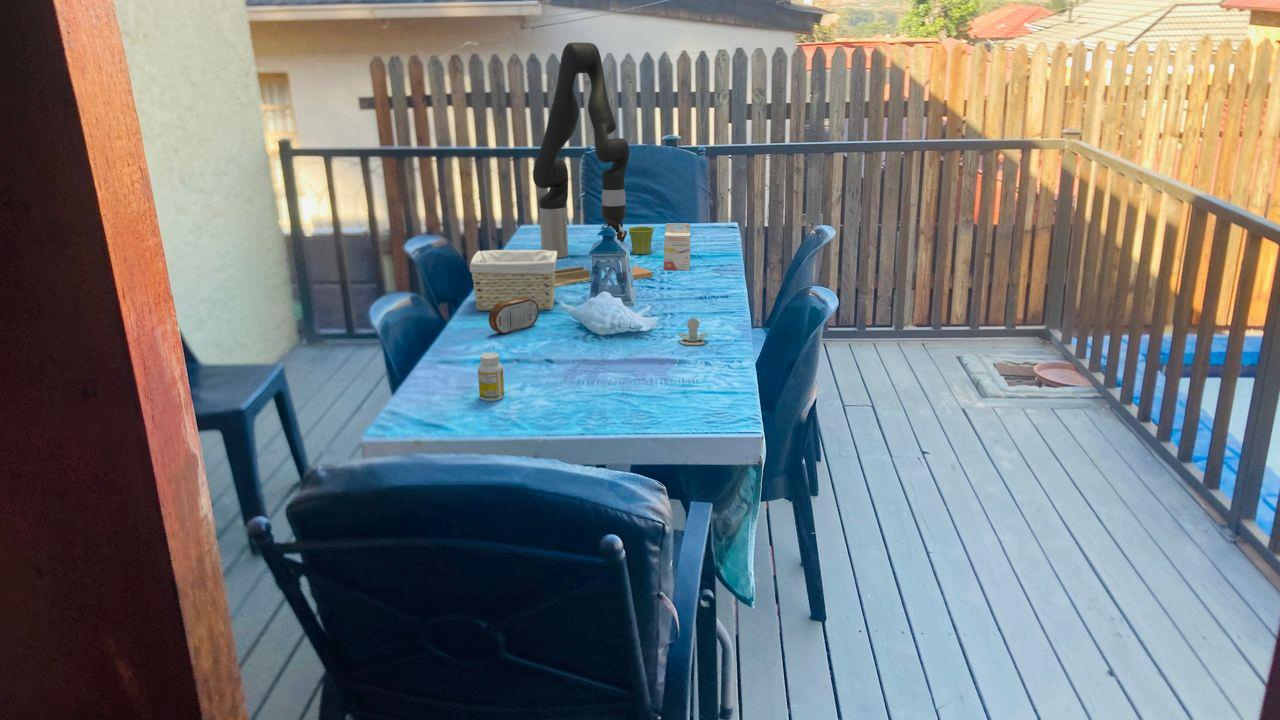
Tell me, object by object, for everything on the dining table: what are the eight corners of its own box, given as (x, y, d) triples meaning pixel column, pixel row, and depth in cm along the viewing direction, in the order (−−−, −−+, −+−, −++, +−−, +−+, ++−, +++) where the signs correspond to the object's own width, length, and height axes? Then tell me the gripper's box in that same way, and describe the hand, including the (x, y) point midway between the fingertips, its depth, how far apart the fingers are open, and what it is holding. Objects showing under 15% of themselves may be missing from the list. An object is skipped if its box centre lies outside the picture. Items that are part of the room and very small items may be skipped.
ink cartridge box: (663, 270, 316) (663, 225, 311) (664, 266, 321) (664, 222, 316) (689, 270, 315) (689, 226, 310) (690, 266, 320) (690, 223, 315)
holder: (527, 280, 304) (526, 271, 303) (578, 273, 313) (578, 264, 312) (541, 288, 295) (541, 279, 294) (594, 281, 303) (593, 271, 302)
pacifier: (706, 347, 241) (707, 339, 246) (706, 324, 238) (708, 316, 244) (677, 346, 241) (679, 338, 247) (677, 323, 239) (679, 315, 245)
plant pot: (623, 255, 337) (623, 230, 335) (634, 249, 346) (633, 225, 343) (648, 257, 334) (648, 232, 331) (658, 251, 342) (658, 227, 339)
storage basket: (559, 297, 286) (558, 248, 282) (556, 312, 271) (554, 261, 266) (479, 298, 286) (476, 249, 281) (471, 313, 271) (468, 262, 266)
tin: (534, 323, 261) (532, 293, 258) (541, 325, 259) (540, 295, 256) (488, 335, 251) (486, 304, 249) (496, 337, 249) (494, 306, 246)
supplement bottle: (491, 403, 206) (488, 361, 202) (474, 398, 209) (471, 356, 206) (509, 396, 209) (507, 354, 206) (493, 391, 213) (490, 349, 210)
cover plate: (600, 272, 308) (614, 277, 301) (638, 266, 315) (652, 272, 307) (601, 279, 309) (614, 285, 301) (638, 274, 315) (652, 279, 308)
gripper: (634, 205, 300) (635, 259, 306) (614, 199, 311) (615, 251, 317) (612, 207, 297) (614, 262, 303) (593, 201, 308) (595, 254, 314)
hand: (614, 256), depth 310 cm, fingers closed
